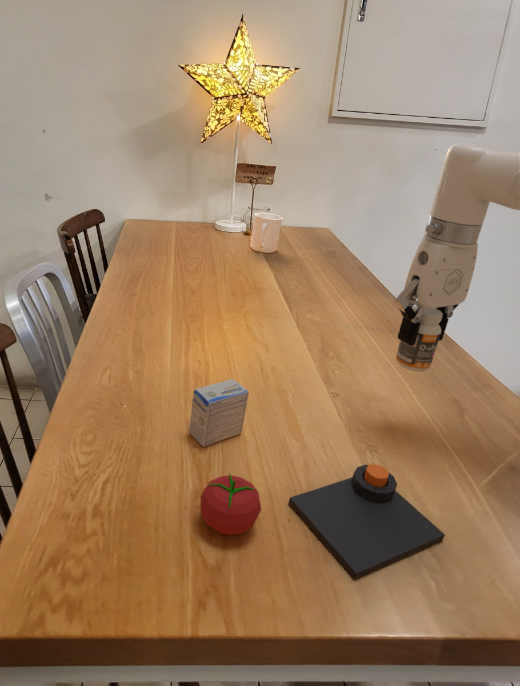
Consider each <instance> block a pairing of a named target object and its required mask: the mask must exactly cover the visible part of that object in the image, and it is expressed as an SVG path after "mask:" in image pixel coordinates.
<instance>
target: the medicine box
mask: <svg viewBox="0 0 520 686" xmlns="http://www.w3.org/2000/svg"><path fill="white" fill-rule="evenodd" d="M249 394H250V392H249V390H247V389H246V388H245V387H244V386H243V385H242V384H240V383H239V382H238V381H237V380H235V379H234V378H230V379H227V380H223V381H220V382H216V383H213V384H208V385H206V386H202V387H199V388H196V389H193V394H192V402H191V411H190V420H189V429H188V433H189V435H190V436H192V437H193V439H194V440H195V441H196V442H197V443H198V444H199V445H200V446H201V447H202V448H205V447H208V446H211V445H213V444H216V443H219V442H222V441H224V440H227V439H230V438H232V437H235V436H238V435H241V434H242V433H243V428H244V422H245V421H244V420H245V416H246V410H247V405H248V400H249Z"/></svg>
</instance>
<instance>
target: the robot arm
mask: <svg viewBox="0 0 520 686" xmlns="http://www.w3.org/2000/svg"><path fill="white" fill-rule="evenodd" d="M490 203H493V204H496V205H499V206H503V207H505V208H509V209H512V210H516V211H520V151H503V150H502V149H500V148H498V147H496V146H493V145H487V144H481V143H473V142H455V143H454V144H452V145H451V146H450V147H449V148H448V149H447V152H446V154H445V158H444V162H443V165H442V169H441V172H440V176H439V180H438V184H437V186H436V190H435V194H434V197H433V201H432V204H431V208H430V212H429V216H428V219H427V223H426V226H425V229H424V233H423V237H422V238H421V241H420V242H419V244H418V247H417V248H416V251H415V253H414V256H413V259H412V261H411V264H410V267H409V270H408V272H407V277H406V279H405V283H404V288H403V290H402V291H401V292H400V293H399V295H397V297H396V298H395V300H394V302H395V304H396V306H397V307H398V308H399V312H400V316H401V317H402V320H401V324H400V327H399V331H398V334H397V339H398V340H401V341H403V342H405V343H406V344H408V345H410V346H412V345H414V344H415V342H416V338H417V335H418V332H419V328H420V324H421V323H419V322H418V321H419V319H420V318H421V316H422V314H423V312H424V310H425V309H426V308H427V309H430V308H435V309H437V310H439V311H441V312H442V314H443V316H442V319H441V322H440V323H439V326H440V327H441V335H440V338H439V341H442V340H443V338H444V335H445V333H446V329H447V326H448V322H449V321H450V320H449V319H450V318H452V317H453V315H454V311H455V310H456V309H457V308H458V306H459V305H460V304H462V303H464V302H465V301H466V299H467V296H468V292H469V290H470V286H471V282H472V279H473V276H474V272H475V267H476V263H477V257H478V248H479V244H478V243H479V242H478V241H479V238H480V234H481V230H482V228H483V225H484V220H485V219H486V215H487V212H488V209H489V207H490ZM414 306H418V308H417V310H416V311H415V312H414V310H413V307H414Z"/></svg>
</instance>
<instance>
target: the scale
mask: <svg viewBox="0 0 520 686" xmlns="http://www.w3.org/2000/svg"><path fill="white" fill-rule="evenodd" d="M369 465H370V464H363V465H359V466H356V468H355V470H354V471H353V474H352V477H349V478H346V479H342V480H340V481H336V482H333V483H331V484H327V485H324V486H321V487H318V488H314V489H312V490H309V491H306V492H303V493H299V494H296V495H293V496H290V497H289V499H288V505H289V506H290V507H291V509H292V510H293V511H294V513H295V514H297V515H298V517H299V518H300V519H301V520H302V521H303V523H304V524H305V525H306V526H307V527H308V528H309V529H310V531H311V532H312V533H313V534H314V535H315V536H316V537H317V539H318V540H319V541H320V542H321V543H322V545H323V546H324V547H325V549H327V551H328V552H329V553H330V554H331V555H332V556H333V557H334V558H335V560H336V561H337V562H338V563H339V564H340V566H342V568H343V569H344V570H345V571H346V572H347V574H348V575H349V576H350V577H351V578H352V579H353V580H354V581H355V580H358V579H360V578H362V577H364V576H367V575H369V574H371V573H374V572H376V571H378V570H380V569H383V568H385V567H387V566H390V565H391V564H394V563H396V562H398V561H401V560H402V559H406V558H407V557H410V556H412V555H414V554H416V553H419V552H421V551H422V550H425V549H428V548H430V547H432V546H434V545H437V544H438V543H439V544H440V543H441V542H443V541H444V539H445V536H446V534H445V533H444V532H443V531H441V529H439V528H438V527H437V526H436V525H435V524H434V523H433V522H431V521H430V520H429V519H428V518H427V517H426V516H425V515H424V514H422V513H421V511H419V510H418V508H416V507H415V506H413V504H411V503H410V502H409V501H408V500H407V499H406V498H404V496H403V495H401V494H400V493H399V492H398V491H397V487H398V483H397V480H396V478H395V476H394V475H393V474H391V473H390V472H389V476H388V479H387V482H386V485H385V486H384V487H374V486H372V485H370V484H368V483H367V482H366V481H365V480H364V475H365V472H366V469H367V466H369Z"/></svg>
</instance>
